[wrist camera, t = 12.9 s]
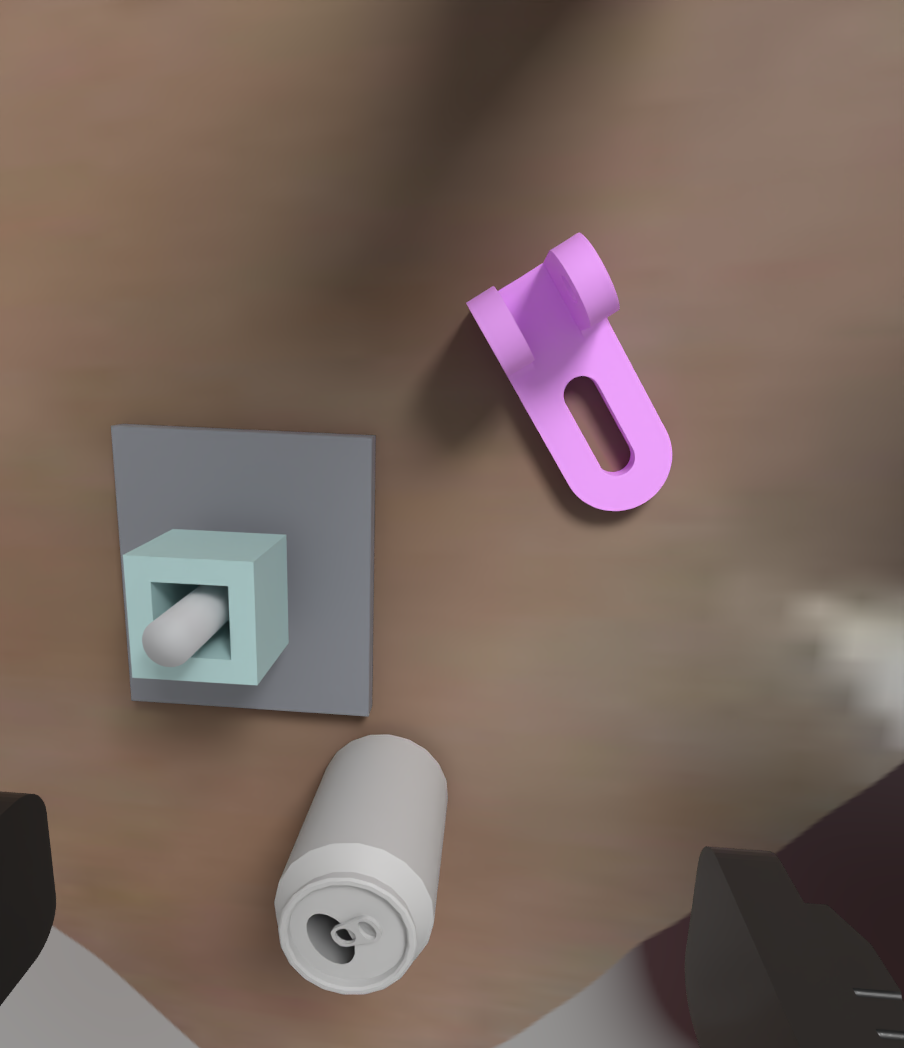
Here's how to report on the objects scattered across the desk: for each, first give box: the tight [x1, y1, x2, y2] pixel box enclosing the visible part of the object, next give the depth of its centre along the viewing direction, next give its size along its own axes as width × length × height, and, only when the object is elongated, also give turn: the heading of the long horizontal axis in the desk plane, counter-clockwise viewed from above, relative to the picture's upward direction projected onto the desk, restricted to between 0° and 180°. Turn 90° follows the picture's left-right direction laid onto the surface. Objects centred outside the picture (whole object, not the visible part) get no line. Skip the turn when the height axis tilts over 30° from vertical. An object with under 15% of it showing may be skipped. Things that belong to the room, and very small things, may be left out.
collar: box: [123, 529, 289, 685], centre depth 34 cm, size 6×6×5 cm
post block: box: [111, 424, 376, 716], centre depth 35 cm, size 16×14×10 cm
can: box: [274, 734, 448, 994], centre depth 37 cm, size 8×8×12 cm
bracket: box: [466, 233, 672, 511], centre depth 33 cm, size 13×6×7 cm, turn 31°
